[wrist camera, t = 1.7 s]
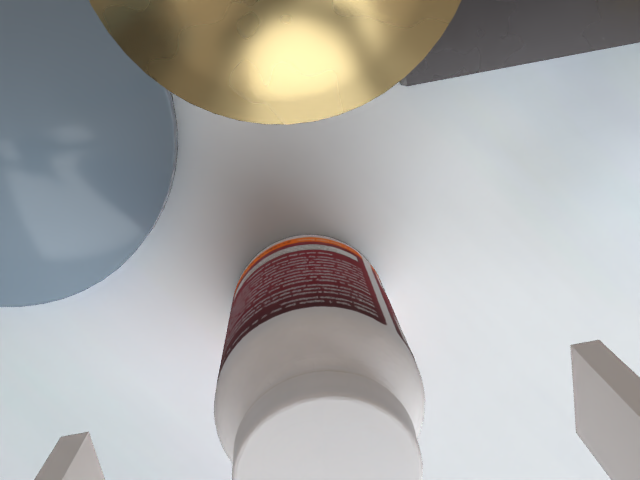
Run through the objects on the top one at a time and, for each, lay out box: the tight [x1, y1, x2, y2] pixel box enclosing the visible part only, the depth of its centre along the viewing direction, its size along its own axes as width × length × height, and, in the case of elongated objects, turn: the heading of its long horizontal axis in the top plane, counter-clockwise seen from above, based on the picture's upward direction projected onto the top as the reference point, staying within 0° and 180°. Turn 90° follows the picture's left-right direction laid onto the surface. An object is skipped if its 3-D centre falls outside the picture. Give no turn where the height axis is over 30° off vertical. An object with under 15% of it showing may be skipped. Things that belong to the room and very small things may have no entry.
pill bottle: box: [214, 235, 425, 480], centre depth 20 cm, size 6×6×11 cm
